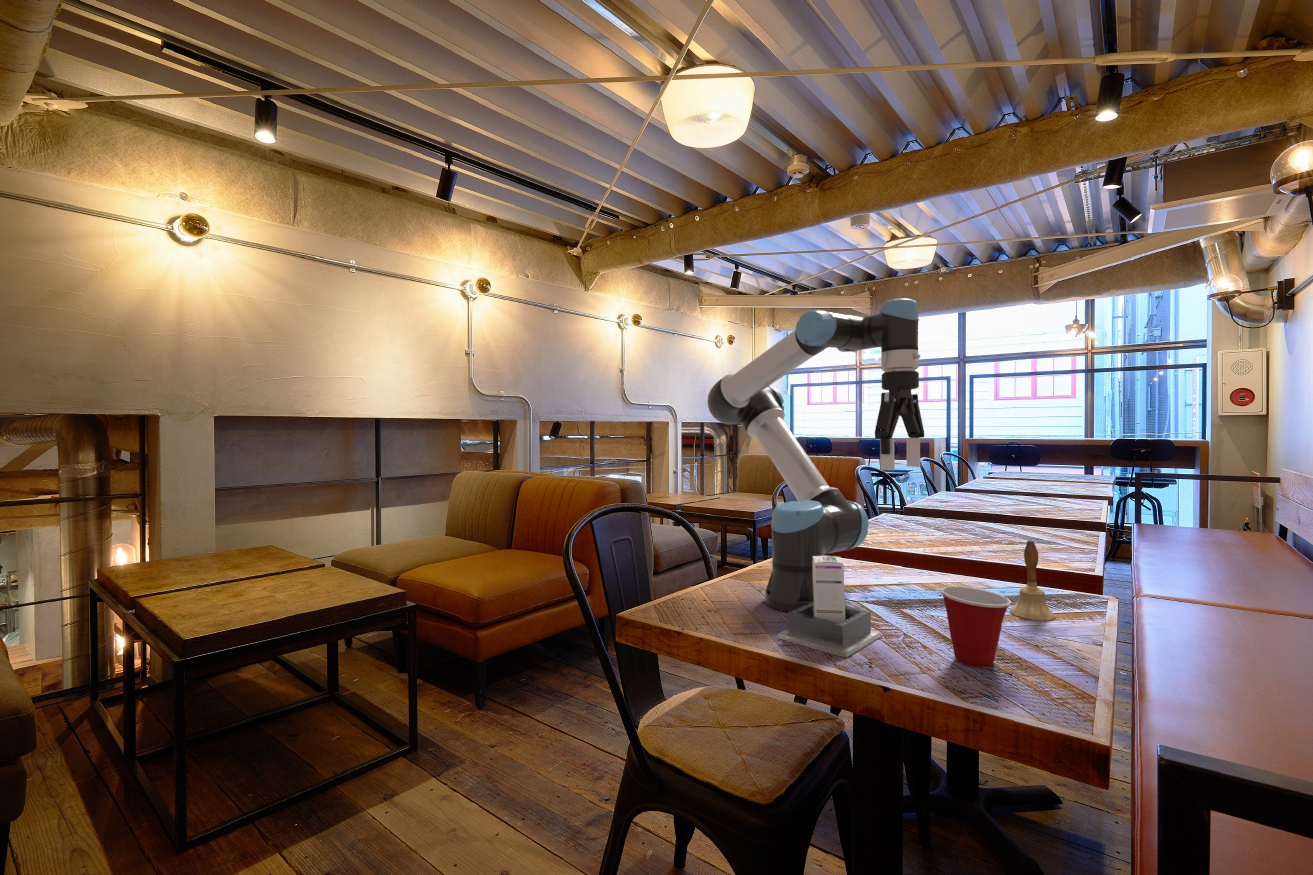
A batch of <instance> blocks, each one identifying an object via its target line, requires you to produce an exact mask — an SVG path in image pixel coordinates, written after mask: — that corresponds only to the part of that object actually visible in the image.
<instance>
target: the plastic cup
mask: <svg viewBox="0 0 1313 875" xmlns="http://www.w3.org/2000/svg"><path fill="white" fill-rule="evenodd" d="M940 593H941V596H942V598H943V602H944V606H945V610H946V617H947V623H948V629H949V630H948V631H949V635H950V636H949V637H950V640H951V642H952V643H951V644H952V648H953V654H954V658H955V660H956V661H957V662H958V663H959V664H961V665H964V666H965V667H966V666H967V667H971V668H978V669H987V668H991V667H992V666H993V665H994V662H995V659H996V652H997V647H998V646H999V641H1000V636H1001V631H1002V626H1003V623H1004V622H1003V620H1004V618H1005V614H1006V612H1007V610H1008V608H1009V607H1010V606H1011V604H1012V601H1011V600H1010V599H1009V598H1008V597H1006V596H1005V595H1001V594H999V593H995V592H993V591H988V590H984V589H979V588H974V587H967V586H959V585H958V586H954V585H949V586H943V587H941V588H940Z"/></svg>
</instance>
